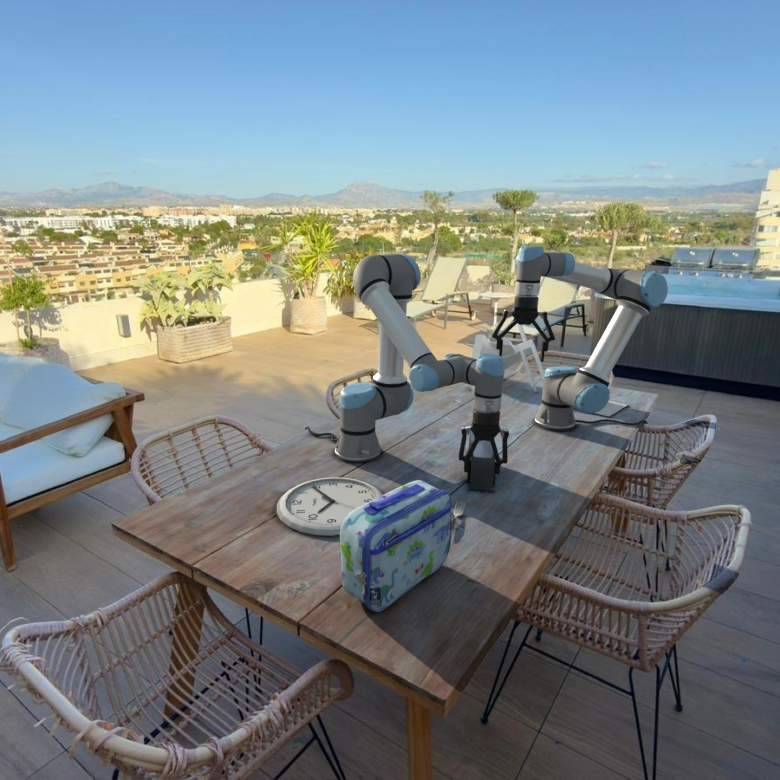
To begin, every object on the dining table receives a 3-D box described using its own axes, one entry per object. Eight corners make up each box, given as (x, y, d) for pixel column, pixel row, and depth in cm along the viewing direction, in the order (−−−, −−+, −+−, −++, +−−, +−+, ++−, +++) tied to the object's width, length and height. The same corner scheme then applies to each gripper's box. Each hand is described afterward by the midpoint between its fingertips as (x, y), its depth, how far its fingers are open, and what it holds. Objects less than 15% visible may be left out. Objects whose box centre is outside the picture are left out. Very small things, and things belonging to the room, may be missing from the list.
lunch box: (369, 626, 100) (370, 530, 93) (334, 598, 107) (332, 507, 101) (455, 567, 117) (460, 483, 111) (419, 547, 124) (423, 467, 118)
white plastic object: (482, 420, 263) (461, 397, 239) (463, 347, 285) (443, 319, 261) (554, 396, 251) (539, 370, 226) (528, 322, 273) (513, 290, 249)
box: (467, 458, 172) (470, 428, 169) (488, 459, 172) (490, 430, 169) (469, 489, 152) (472, 456, 149) (492, 491, 151) (495, 458, 148)
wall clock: (392, 527, 129) (268, 531, 127) (391, 533, 130) (269, 537, 127) (383, 473, 158) (282, 475, 155) (383, 478, 158) (282, 480, 156)
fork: (441, 537, 129) (441, 530, 128) (456, 506, 143) (456, 499, 142) (451, 539, 128) (452, 532, 127) (465, 508, 142) (466, 501, 142)
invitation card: (608, 416, 214) (573, 407, 224) (608, 416, 214) (573, 408, 224) (628, 404, 229) (594, 396, 238) (628, 405, 229) (594, 397, 238)
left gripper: (451, 411, 145) (447, 486, 152) (523, 416, 143) (515, 491, 150) (452, 402, 152) (447, 474, 159) (520, 407, 150) (512, 479, 157)
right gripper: (488, 295, 166) (483, 360, 172) (569, 298, 163) (561, 364, 169) (486, 293, 173) (482, 355, 179) (564, 295, 170) (557, 358, 176)
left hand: (480, 482), depth 154 cm, fingers closed on box, 7 cm apart
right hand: (520, 360), depth 174 cm, fingers open, 13 cm apart
